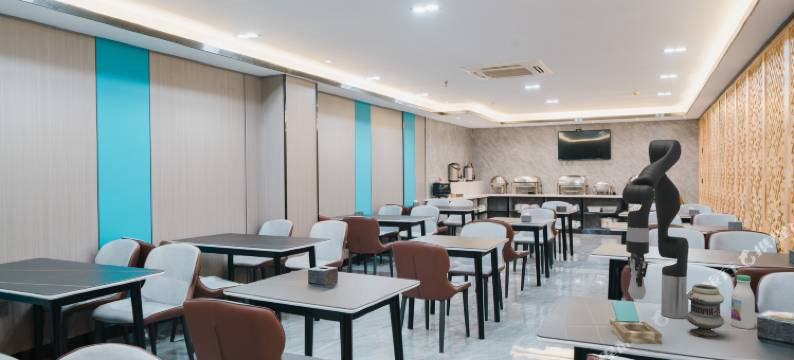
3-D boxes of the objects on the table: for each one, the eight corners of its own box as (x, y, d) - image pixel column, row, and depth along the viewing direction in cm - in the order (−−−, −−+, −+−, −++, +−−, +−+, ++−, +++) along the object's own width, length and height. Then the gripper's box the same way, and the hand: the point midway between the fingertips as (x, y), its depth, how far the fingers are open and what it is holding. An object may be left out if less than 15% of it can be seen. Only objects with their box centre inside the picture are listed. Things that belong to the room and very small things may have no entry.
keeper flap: (632, 303, 205) (633, 301, 204) (639, 323, 198) (639, 321, 198) (611, 302, 206) (612, 301, 205) (617, 322, 199) (618, 320, 198)
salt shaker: (647, 300, 187) (647, 264, 187) (630, 299, 188) (630, 263, 188) (643, 296, 193) (643, 261, 192) (626, 295, 194) (627, 260, 194)
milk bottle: (752, 324, 206) (753, 274, 206) (756, 330, 199) (757, 278, 199) (729, 322, 209) (730, 273, 209) (732, 327, 202) (733, 276, 202)
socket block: (638, 324, 206) (638, 316, 206) (661, 343, 184) (662, 333, 184) (604, 323, 207) (604, 315, 207) (623, 342, 185) (624, 332, 185)
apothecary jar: (684, 335, 193) (685, 287, 193) (688, 327, 203) (689, 281, 202) (722, 341, 186) (723, 291, 186) (724, 333, 196) (725, 285, 196)
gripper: (656, 242, 183) (655, 291, 183) (641, 237, 197) (640, 282, 197) (634, 242, 183) (633, 291, 184) (620, 236, 197) (619, 282, 198)
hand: (636, 286), depth 190 cm, fingers closed on salt shaker, 3 cm apart
